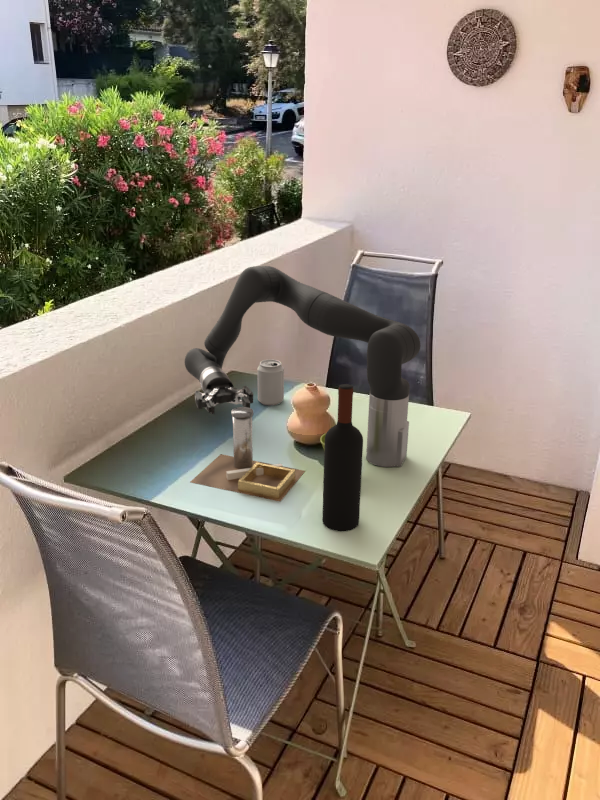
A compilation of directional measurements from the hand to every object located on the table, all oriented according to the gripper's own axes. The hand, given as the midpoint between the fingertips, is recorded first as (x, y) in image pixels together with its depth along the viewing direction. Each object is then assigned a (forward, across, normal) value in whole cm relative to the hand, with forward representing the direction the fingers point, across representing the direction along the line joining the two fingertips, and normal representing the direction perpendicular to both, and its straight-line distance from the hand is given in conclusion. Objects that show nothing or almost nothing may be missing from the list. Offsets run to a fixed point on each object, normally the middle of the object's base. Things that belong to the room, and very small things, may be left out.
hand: (230, 408), depth 176 cm
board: (+17, 0, +10) cm, 20 cm away
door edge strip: (+17, +2, +10) cm, 20 cm away
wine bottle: (+40, +14, +10) cm, 43 cm away
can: (-26, +18, +11) cm, 33 cm away
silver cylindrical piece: (+12, 0, +10) cm, 15 cm away
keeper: (+22, +3, +10) cm, 25 cm away
